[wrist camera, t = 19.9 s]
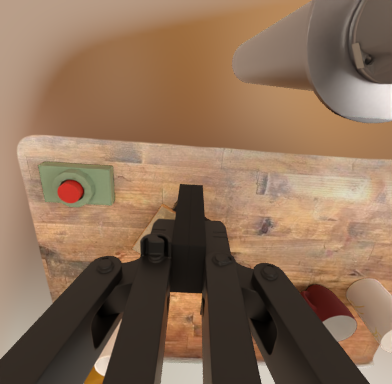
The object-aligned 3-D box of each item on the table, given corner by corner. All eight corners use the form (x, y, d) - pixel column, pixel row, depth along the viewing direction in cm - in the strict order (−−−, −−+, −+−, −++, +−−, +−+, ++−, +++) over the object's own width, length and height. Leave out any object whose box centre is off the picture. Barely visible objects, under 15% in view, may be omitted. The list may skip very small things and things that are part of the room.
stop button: (82, 180, 43) (78, 184, 41) (84, 199, 44) (80, 204, 43) (60, 179, 43) (55, 183, 41) (63, 198, 44) (59, 202, 43)
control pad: (112, 165, 46) (106, 173, 42) (115, 200, 49) (108, 210, 45) (44, 161, 45) (31, 168, 41) (51, 196, 48) (39, 206, 44)
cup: (339, 291, 60) (373, 339, 49) (371, 272, 57) (413, 318, 46) (356, 308, 62) (391, 358, 51) (387, 291, 60) (431, 339, 49)
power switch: (162, 203, 49) (153, 242, 37) (200, 225, 51) (203, 268, 40) (132, 245, 53) (116, 293, 41) (169, 264, 55) (163, 314, 44)
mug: (281, 294, 60) (298, 334, 51) (300, 270, 57) (321, 307, 48) (319, 306, 62) (341, 346, 53) (338, 283, 59) (366, 321, 49)
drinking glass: (150, 304, 60) (138, 371, 47) (126, 314, 62) (108, 382, 48) (133, 286, 58) (116, 351, 44) (109, 297, 59) (85, 363, 45)
